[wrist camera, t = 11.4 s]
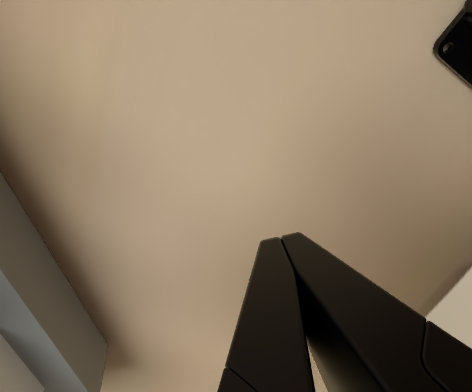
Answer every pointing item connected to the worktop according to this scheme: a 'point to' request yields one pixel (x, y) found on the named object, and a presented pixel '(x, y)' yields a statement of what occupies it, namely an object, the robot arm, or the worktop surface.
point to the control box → (41, 314)
